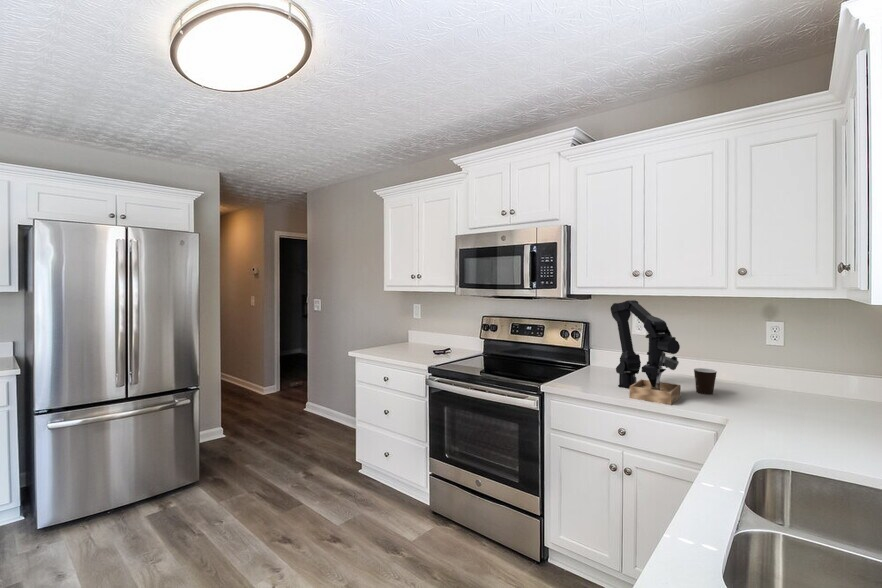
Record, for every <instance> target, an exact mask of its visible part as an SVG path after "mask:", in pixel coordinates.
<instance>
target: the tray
mask: <svg viewBox="0 0 882 588" xmlns="http://www.w3.org/2000/svg"><path fill="white" fill-rule="evenodd" d="M650 388H651V383H650V381H649V379H648V380H647V379H639V380H637V381H636V383H634V384H633V385H631V386H630V388H629V393H628V394H629V396H628V397H629V399H632V400H640V401H646V402H650V403H658V404H662V405H668V406H672V405H673V404H674V403H675V402H676V401H677V400H678V399H680V398H681V392H682V391H681V384H676V383H668V382H662V381H660V390H654V389H650Z"/></svg>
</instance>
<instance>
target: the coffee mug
mask: <svg viewBox="0 0 882 588" xmlns="http://www.w3.org/2000/svg"><path fill="white" fill-rule="evenodd" d="M693 372H694V373H693V375H694V382H695V392H696V393H697V394H699V395H703V396H704V395H707V396H712V395H714V389H715V384H716V377H717V373H718V372H717V370H715V369H711V368H710V369H709V368H701V367H700V368H699V367H698V368H694V369H693Z"/></svg>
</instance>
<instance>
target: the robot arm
mask: <svg viewBox="0 0 882 588" xmlns="http://www.w3.org/2000/svg"><path fill="white" fill-rule="evenodd" d="M610 312H611V313H610V314H611V316H612V319H614V321H615V322H616V324H617V330H618V336H619V340H620V341H619V342H620V347H621V354H620V356H619V363H618V365H617V366H616V367H615V371H616V374H618V375H619V376H618V377H619V379H618V380H619V381H618V384H617V386H618V387H619V388H627V389H630V386H631V385H633V384H634V383H636V382H637V376H636V375H638V374H639V372H640V369H641V372H642V373H645V374H646V376H647V378H648V380H649V381H650V383H651V385H652V387H654V388H655V386H656V382H657V376H658V375H659V374H660V378H661V377H662V373H664V372H665V371H666V370H667V369H666V368H668V369H669V370H671V371H675V370H676V369H677V367H678V366H679V363H680V362H679V360H678V357H676V356H675V354H676V355H677V353H678V352H679V351H680V348H681V345H680V343H679V342H678V341H677V340H676V339H677V338H676V337H675V336H673V335H672V334H671V331H670V330H669V327H668V325H667V322H666V320H665V321H664V319H661V318H659V317H656V316H654V315H652V314H651V313H650V312H649V311H648V310H647V309H645V307H643V306H642V305H641V304H640V303H639V302H638V301H637V300H636V299H634V300H633V299H632V300H631V299H629V300H625V301H623V302H614V303H612V305H611V306H610ZM632 314H633V315H634V316H635V317H636V318H637V319H638V320H639V321H640V322H642V323H643V328H644V329H645V331H646V332H647V333H648V334H646V335H645V336H644V337H645V338H646V339H648V351H647V352H646V355H647V356H648V359H647V361H646V364H645V365H642V367H641V364H642V362H641V357H640V354H639V353H636V352H635V350H634V346H633V340H632V334H631V330H630V329H631V328H630V324H629V319H630V318H631V315H632ZM666 353H667V354H671V355H673V356H672V357H670V356H669V357H668V356H666ZM664 367H665V368H664Z"/></svg>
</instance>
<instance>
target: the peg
mask: <svg viewBox="0 0 882 588" xmlns="http://www.w3.org/2000/svg"><path fill="white" fill-rule="evenodd" d="M660 382H661V377H660V374H659V375H658V376H657V382H656V386H655V388H654V387H652V385H651V388H650V389H654V390H660Z"/></svg>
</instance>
